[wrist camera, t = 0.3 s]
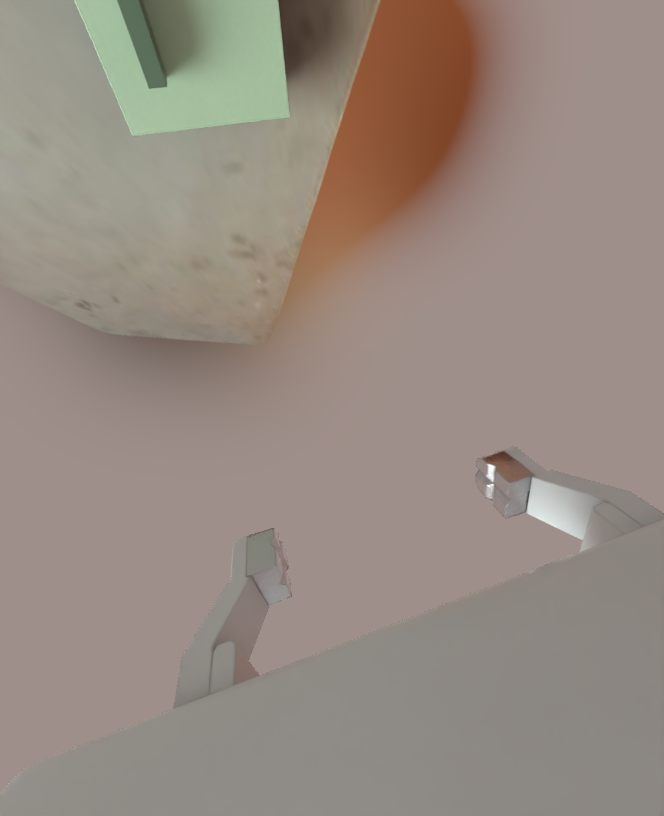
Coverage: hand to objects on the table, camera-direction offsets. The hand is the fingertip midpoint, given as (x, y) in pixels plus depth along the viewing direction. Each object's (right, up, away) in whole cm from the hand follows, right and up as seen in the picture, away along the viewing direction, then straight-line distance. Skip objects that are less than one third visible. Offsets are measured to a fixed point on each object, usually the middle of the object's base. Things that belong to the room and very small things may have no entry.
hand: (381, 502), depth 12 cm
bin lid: (-15, +39, +17) cm, 45 cm away
